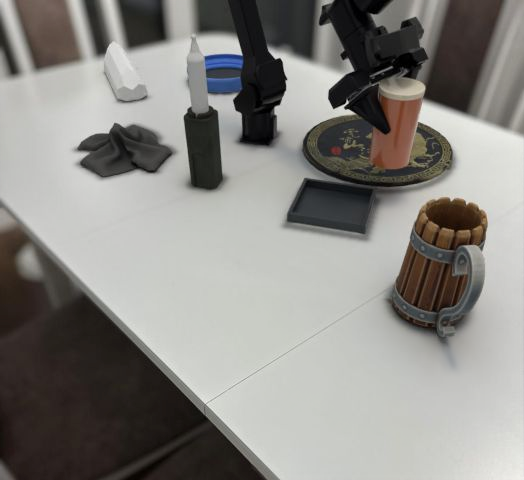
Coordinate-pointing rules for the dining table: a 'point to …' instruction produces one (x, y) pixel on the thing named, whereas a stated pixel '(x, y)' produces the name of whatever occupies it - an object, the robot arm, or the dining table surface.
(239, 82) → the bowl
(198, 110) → the candle
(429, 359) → the dining table surface
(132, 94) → the crystal
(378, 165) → the cup
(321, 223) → the dark gray rectangular tray
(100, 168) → the cloth
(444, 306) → the mug
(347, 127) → the decorative plate
